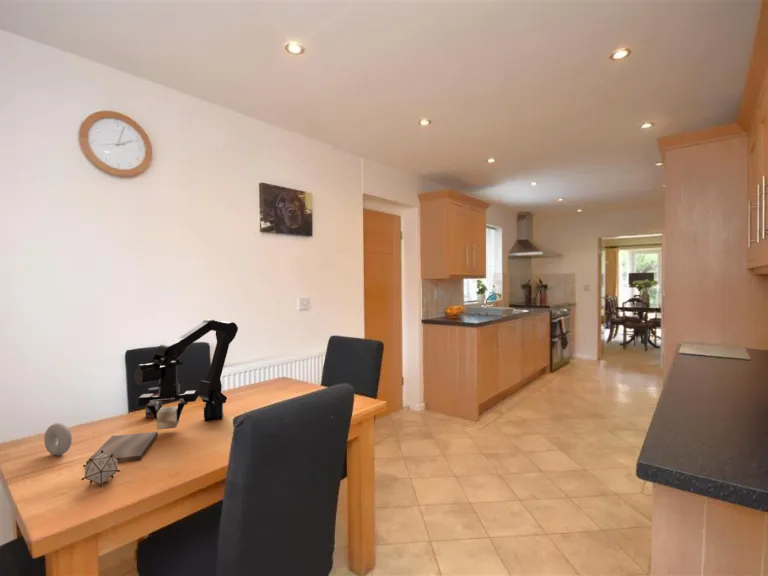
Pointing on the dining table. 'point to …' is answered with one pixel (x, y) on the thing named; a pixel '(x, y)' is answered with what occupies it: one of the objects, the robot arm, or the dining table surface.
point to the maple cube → (167, 418)
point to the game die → (101, 468)
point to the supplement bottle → (155, 393)
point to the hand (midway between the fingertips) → (168, 421)
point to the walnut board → (127, 446)
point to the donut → (58, 439)
